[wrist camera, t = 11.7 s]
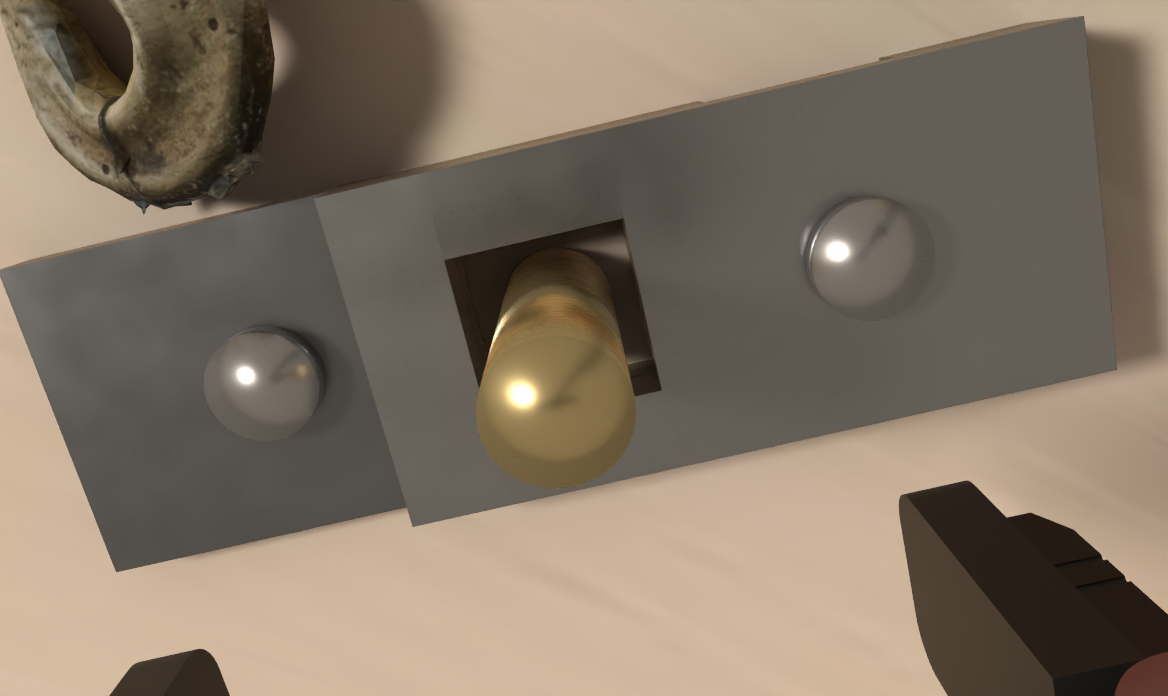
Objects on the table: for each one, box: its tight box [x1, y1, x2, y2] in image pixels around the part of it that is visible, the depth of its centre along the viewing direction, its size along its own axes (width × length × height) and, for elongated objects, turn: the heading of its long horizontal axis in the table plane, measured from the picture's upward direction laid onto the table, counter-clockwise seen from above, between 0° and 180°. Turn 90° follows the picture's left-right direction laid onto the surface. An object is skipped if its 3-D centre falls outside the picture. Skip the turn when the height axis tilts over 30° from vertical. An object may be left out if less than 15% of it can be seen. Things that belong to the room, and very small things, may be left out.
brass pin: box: [476, 248, 636, 488], centre depth 23 cm, size 3×3×10 cm
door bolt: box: [0, 16, 1117, 572], centre depth 26 cm, size 28×9×4 cm, turn 103°
